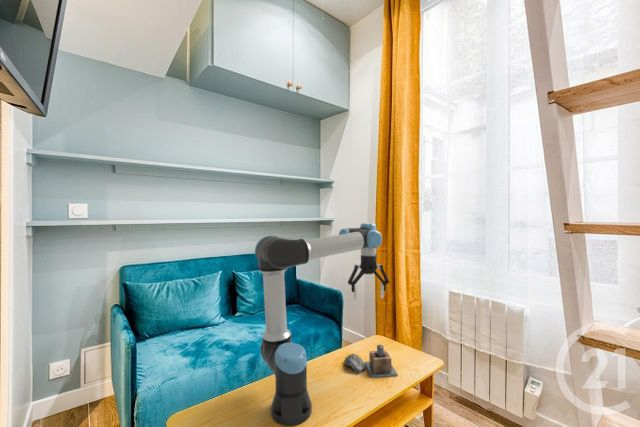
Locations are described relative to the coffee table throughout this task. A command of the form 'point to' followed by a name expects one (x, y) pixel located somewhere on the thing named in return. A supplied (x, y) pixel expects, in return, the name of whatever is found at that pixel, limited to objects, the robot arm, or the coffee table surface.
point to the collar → (380, 362)
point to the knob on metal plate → (381, 374)
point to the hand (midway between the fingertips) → (368, 298)
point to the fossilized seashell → (355, 363)
